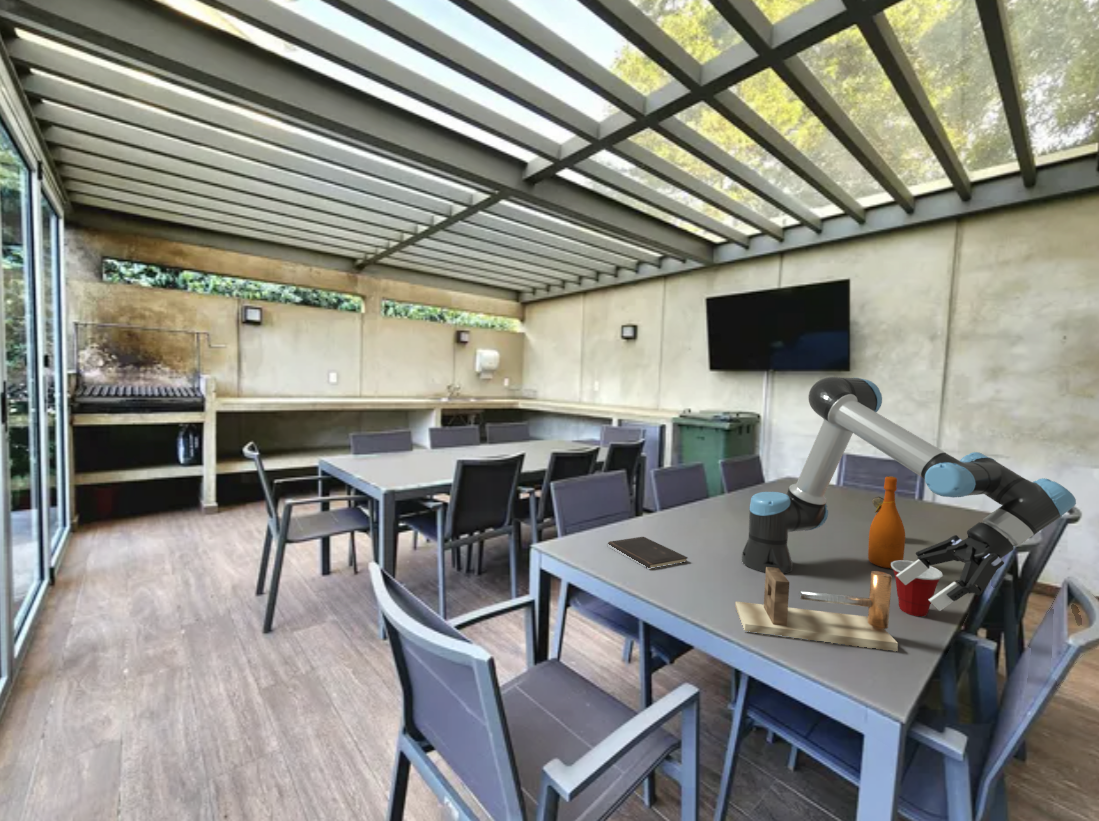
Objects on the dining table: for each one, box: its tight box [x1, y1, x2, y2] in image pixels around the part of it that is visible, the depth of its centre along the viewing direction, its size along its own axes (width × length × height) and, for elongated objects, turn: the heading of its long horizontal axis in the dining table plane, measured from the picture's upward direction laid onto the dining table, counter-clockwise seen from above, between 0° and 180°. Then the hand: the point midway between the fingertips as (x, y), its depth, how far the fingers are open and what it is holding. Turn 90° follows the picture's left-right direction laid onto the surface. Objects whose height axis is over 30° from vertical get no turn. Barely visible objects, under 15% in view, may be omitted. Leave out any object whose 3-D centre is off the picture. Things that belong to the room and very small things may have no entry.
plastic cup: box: [891, 559, 944, 618], centre depth 124 cm, size 11×11×12 cm
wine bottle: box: [867, 475, 906, 570], centre depth 157 cm, size 10×10×30 cm
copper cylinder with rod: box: [798, 570, 893, 630], centre depth 111 cm, size 19×4×12 cm, turn 79°
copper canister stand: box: [734, 567, 899, 652], centre depth 113 cm, size 32×12×12 cm, turn 79°
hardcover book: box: [607, 536, 689, 568], centre depth 161 cm, size 16×23×2 cm
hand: (916, 592), depth 108 cm, fingers open, 13 cm apart
